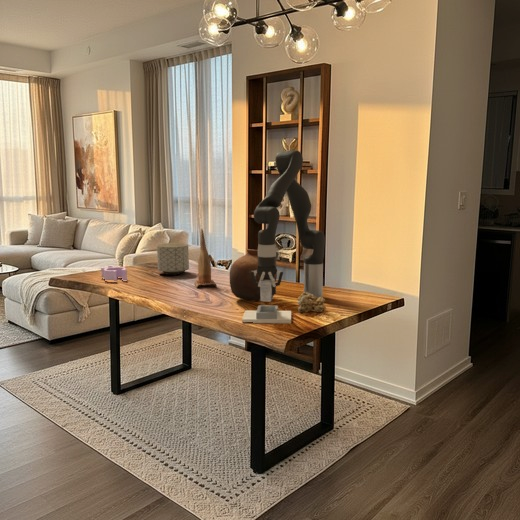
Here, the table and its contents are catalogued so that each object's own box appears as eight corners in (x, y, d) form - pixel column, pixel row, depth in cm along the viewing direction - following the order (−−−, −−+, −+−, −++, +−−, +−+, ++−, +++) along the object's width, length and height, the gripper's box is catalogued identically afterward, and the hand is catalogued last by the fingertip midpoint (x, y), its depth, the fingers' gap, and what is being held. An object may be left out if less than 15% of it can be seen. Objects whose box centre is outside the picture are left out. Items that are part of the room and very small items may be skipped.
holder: (245, 313, 223) (245, 304, 222) (291, 314, 221) (291, 305, 221) (242, 322, 209) (241, 313, 208) (290, 323, 208) (290, 313, 207)
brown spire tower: (213, 283, 287) (211, 227, 283) (217, 287, 276) (215, 228, 272) (193, 285, 285) (191, 228, 280) (196, 289, 273) (194, 229, 269)
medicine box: (270, 302, 210) (270, 281, 208) (260, 301, 210) (260, 281, 209) (273, 297, 217) (273, 277, 216) (263, 297, 218) (263, 277, 217)
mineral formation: (296, 314, 221) (292, 303, 235) (326, 318, 222) (320, 307, 236) (299, 297, 219) (295, 287, 234) (330, 301, 220) (323, 291, 235)
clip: (96, 278, 304) (95, 267, 303) (116, 276, 312) (115, 264, 311) (111, 284, 289) (110, 272, 288) (131, 280, 297) (130, 269, 296)
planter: (190, 270, 327) (189, 242, 324) (188, 276, 308) (187, 246, 305) (160, 271, 325) (159, 243, 322) (156, 277, 307) (154, 247, 304)
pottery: (225, 305, 238) (224, 252, 234) (234, 293, 261) (234, 245, 257) (274, 306, 235) (273, 252, 231) (279, 294, 258) (279, 245, 253)
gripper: (248, 256, 208) (249, 297, 210) (283, 256, 207) (283, 297, 209) (250, 253, 215) (250, 293, 218) (284, 253, 214) (284, 293, 217)
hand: (267, 295), depth 214 cm, fingers closed on medicine box, 4 cm apart
